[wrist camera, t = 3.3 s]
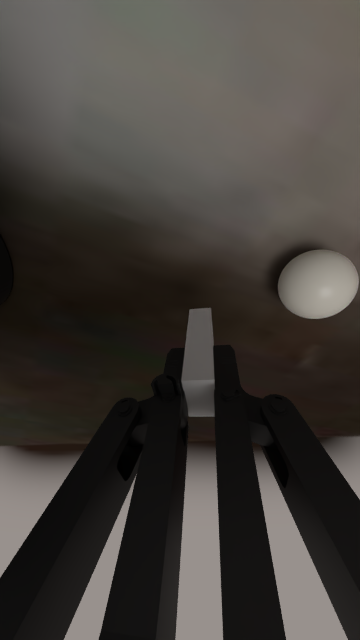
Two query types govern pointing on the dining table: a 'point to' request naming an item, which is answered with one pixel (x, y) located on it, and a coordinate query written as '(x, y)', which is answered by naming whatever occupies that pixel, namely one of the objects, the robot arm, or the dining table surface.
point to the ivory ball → (318, 284)
